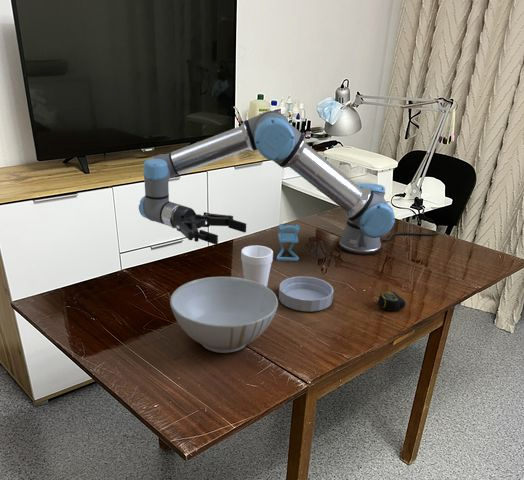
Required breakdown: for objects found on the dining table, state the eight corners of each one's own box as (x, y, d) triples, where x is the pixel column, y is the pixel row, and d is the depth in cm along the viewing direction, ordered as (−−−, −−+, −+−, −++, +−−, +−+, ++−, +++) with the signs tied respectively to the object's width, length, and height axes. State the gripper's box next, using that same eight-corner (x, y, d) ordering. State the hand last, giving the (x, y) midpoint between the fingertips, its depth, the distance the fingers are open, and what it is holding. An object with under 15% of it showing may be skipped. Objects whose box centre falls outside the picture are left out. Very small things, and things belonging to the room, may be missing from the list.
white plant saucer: (309, 284, 174) (310, 272, 172) (342, 304, 163) (344, 292, 161) (268, 295, 166) (269, 283, 164) (300, 317, 155) (301, 305, 153)
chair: (296, 251, 196) (299, 219, 190) (298, 260, 189) (301, 227, 183) (275, 250, 196) (277, 218, 190) (276, 260, 189) (278, 226, 183)
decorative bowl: (265, 376, 130) (268, 332, 124) (157, 361, 134) (154, 317, 127) (282, 322, 153) (285, 282, 146) (189, 310, 156) (187, 271, 150)
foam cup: (235, 286, 170) (236, 247, 163) (263, 282, 173) (265, 243, 166) (247, 300, 163) (248, 259, 156) (275, 295, 166) (278, 255, 159)
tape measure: (405, 311, 162) (407, 300, 159) (384, 313, 160) (386, 302, 158) (393, 300, 167) (395, 289, 165) (373, 303, 165) (375, 292, 163)
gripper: (205, 219, 185) (255, 234, 175) (151, 238, 168) (204, 257, 158) (205, 197, 181) (256, 211, 171) (150, 215, 164) (204, 232, 154)
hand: (231, 233), depth 164 cm, fingers open, 13 cm apart
